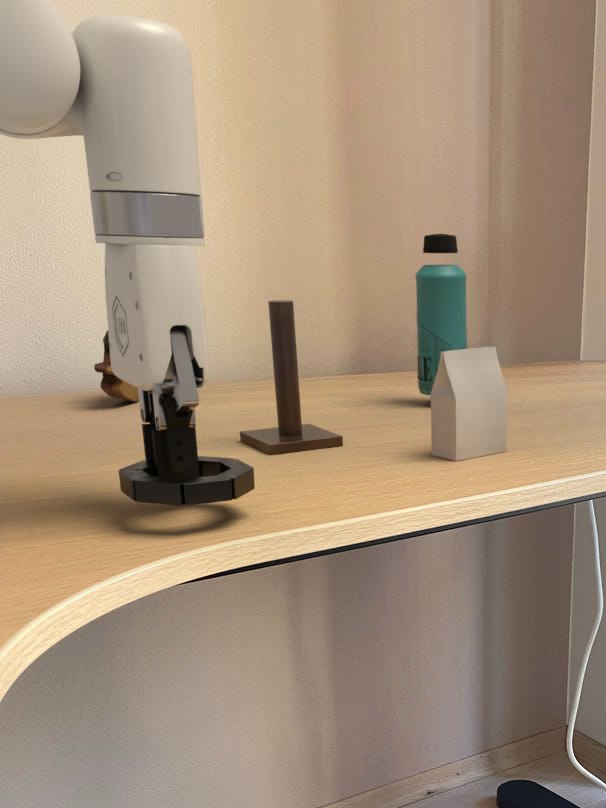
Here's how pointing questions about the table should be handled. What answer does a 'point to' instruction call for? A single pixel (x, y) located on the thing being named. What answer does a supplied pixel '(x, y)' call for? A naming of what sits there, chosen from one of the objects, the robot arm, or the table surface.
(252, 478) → the ring
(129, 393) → the wooden carving
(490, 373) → the grey gabled box
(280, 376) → the post
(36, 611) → the table surface
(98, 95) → the robot arm
